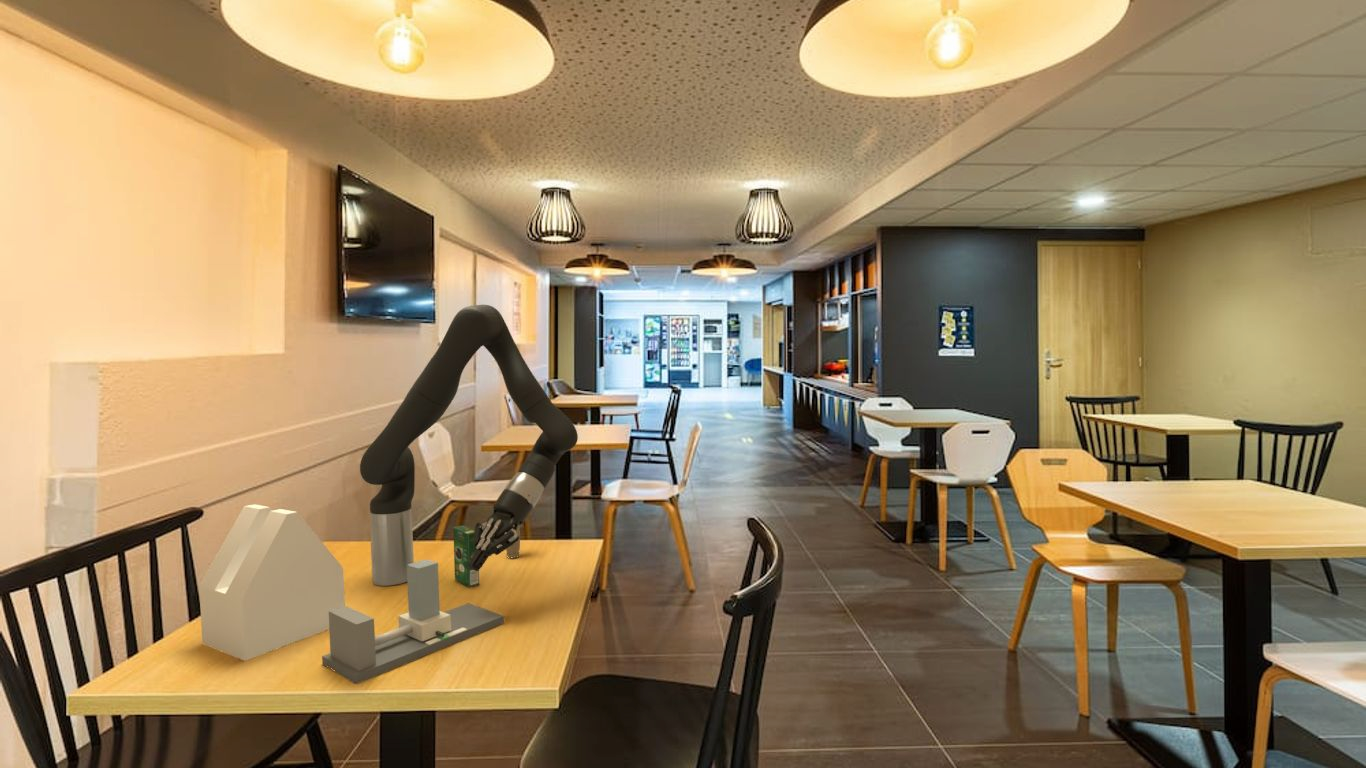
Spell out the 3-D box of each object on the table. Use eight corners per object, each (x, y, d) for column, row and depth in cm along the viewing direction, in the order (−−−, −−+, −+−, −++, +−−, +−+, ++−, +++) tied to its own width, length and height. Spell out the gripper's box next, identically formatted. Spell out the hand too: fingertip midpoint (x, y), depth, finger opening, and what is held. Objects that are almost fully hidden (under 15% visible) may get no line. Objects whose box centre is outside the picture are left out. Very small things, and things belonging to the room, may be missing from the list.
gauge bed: (322, 664, 117) (320, 611, 116) (468, 609, 141) (467, 566, 140) (355, 683, 109) (353, 627, 109) (504, 622, 133) (502, 576, 133)
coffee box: (481, 585, 156) (479, 530, 155) (469, 588, 154) (467, 533, 153) (465, 577, 162) (463, 524, 161) (454, 580, 160) (452, 526, 159)
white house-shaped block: (245, 661, 119) (237, 524, 118) (202, 644, 126) (195, 515, 125) (345, 623, 135) (340, 502, 134) (302, 609, 143) (296, 495, 142)
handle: (515, 561, 173) (513, 505, 173) (497, 558, 176) (495, 502, 176) (528, 556, 177) (526, 501, 177) (510, 553, 181) (508, 499, 180)
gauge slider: (357, 646, 120) (354, 576, 119) (427, 620, 131) (425, 556, 130) (386, 661, 114) (382, 587, 113) (457, 632, 125) (454, 565, 124)
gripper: (489, 484, 145) (441, 553, 136) (528, 491, 137) (480, 565, 128) (510, 503, 150) (465, 571, 141) (549, 511, 142) (503, 584, 132)
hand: (472, 568), depth 134 cm, fingers closed
